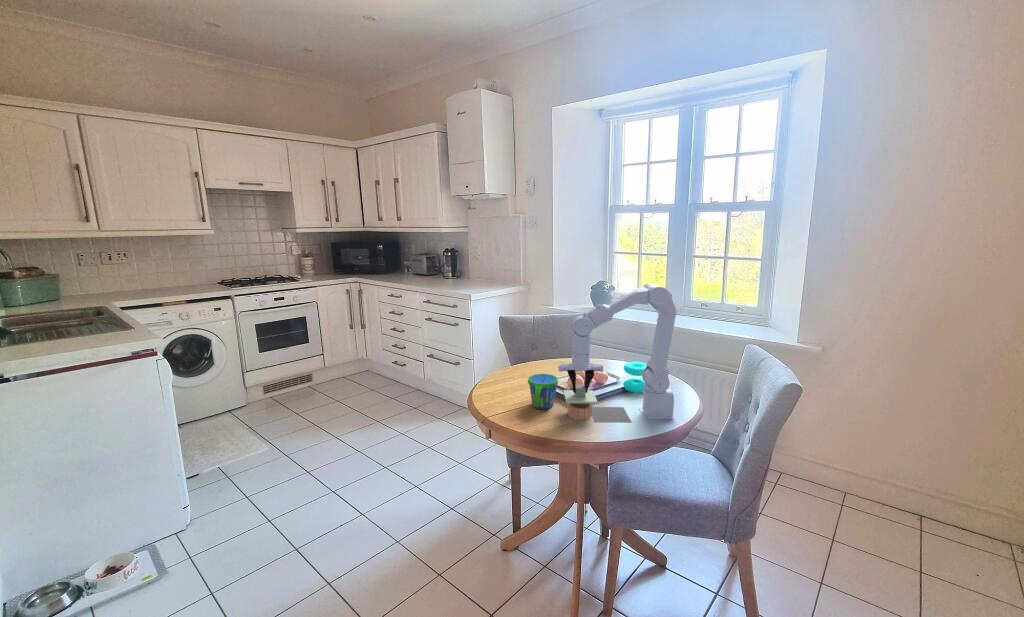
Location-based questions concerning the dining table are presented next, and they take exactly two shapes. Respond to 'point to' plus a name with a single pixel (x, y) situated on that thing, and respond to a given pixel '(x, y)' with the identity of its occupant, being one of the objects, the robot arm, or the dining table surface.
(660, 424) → the dining table surface
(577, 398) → the lid
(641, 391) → the donuts
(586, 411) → the bowl
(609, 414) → the mat
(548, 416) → the dining table surface
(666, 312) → the robot arm
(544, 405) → the snack cup
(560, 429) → the dining table surface
